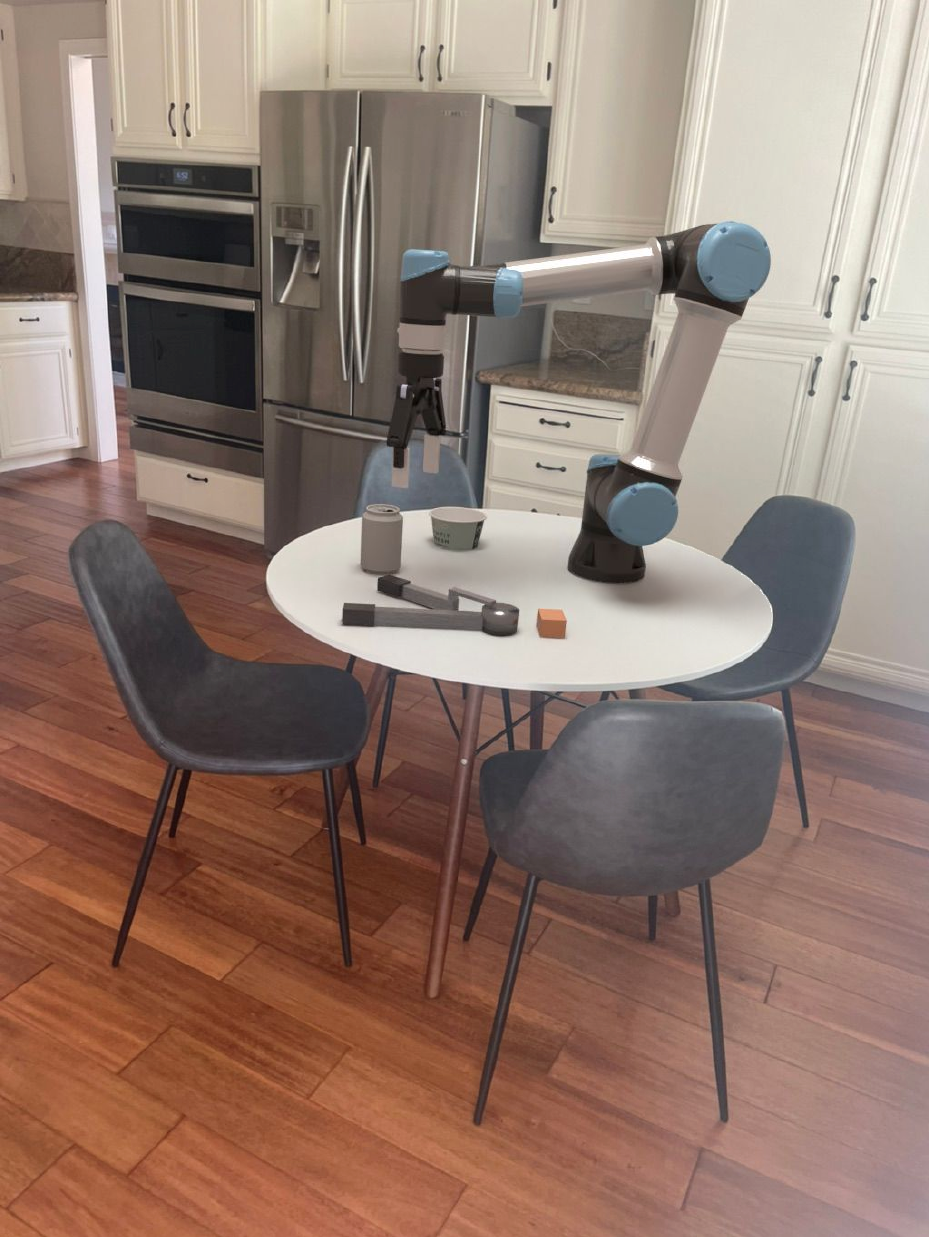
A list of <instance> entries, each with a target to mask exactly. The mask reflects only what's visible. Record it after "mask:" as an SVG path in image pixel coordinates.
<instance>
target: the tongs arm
mask: <svg viewBox="0 0 929 1237" xmlns="http://www.w3.org/2000/svg"><path fill="white" fill-rule="evenodd" d="M376 583H377V589H376V591H377V592H379V593H382V594H385V595H388V596H391V597H395V598H397V599H400V598H401V599H404V600H406V601H410V602H413V603H416V604H418V605H421V606H425V607H428V608H431V609H435V610H455V611H460V597H461V598H465V599H467V600H470V601H473V602H476V603H480V604H483V605H485V604H486V605H489V606H492V605H494V604H496V603H497V599H494V598H490V597H486V596H484V595H481V594H477V593H475V592H471V591H469V590H465V589H461V588H458V587H456V586H455V587H451V588H449V589H448V594H445V593H441V592H438V591H435V590H433V589H429V588H426V587H423V586H420V585H416V584H414V583H412V581H411V580H408V579H405V578H402V577H399V576H396V575H392V574H384V575H382V576H379V577H377V582H376Z"/></svg>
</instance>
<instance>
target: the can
mask: <svg viewBox="0 0 929 1237" xmlns="http://www.w3.org/2000/svg"><path fill="white" fill-rule="evenodd" d="M365 509H366V511H365V512H363V513H362V516H361V540H360V541H361V542H360V563H359V564H360V566H361V568H363V570H364V571H365V572H367V573H370V574H374V575H382V576H385V575H389V574H390V575H392V574H394V573H395V572H396V571H398V570H399V569H400V568H401V567H402V566H401V565H402V564H401V563H402V546H403V544H402V543H403V527H404V526H403V525H404V517H403V515H402V514H401V513H400V511H401V508H400V507H398V506H396V505H391V504H384V503H379V504H377V503H375V504H369V505H367V506H366V507H365Z"/></svg>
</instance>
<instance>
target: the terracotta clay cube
mask: <svg viewBox="0 0 929 1237" xmlns="http://www.w3.org/2000/svg"><path fill="white" fill-rule="evenodd" d="M567 622H568V620H567V618H566V616H565V613H564V611H563V609H556V608H555V609H554V608H553V609H552V608H537V615H536V623H535V624H536V625H535V626H536V629H537V632H538V636H539V638H550V639H551V638H556V639H566V632H567Z"/></svg>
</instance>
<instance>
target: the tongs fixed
mask: <svg viewBox="0 0 929 1237" xmlns="http://www.w3.org/2000/svg"><path fill="white" fill-rule="evenodd" d="M519 616H520V609H519V608H518V607H517V606H515V605H514V604H510V603H506V602H496V604H494V605H492V606H489V605H486V604H483V605H482V607H481V611H475V610H474V611H473V610H471V611H470V610H459V611H455V610H437V609H434V608H431V609H429V608H410V607H408V608H407V607H394V606H393V607H391V606H390V607H389V606H376V604H374V603H359V602H357V603H356V602H343V606H342V616H341V618H342V619H341V626H350V627H351V626H352V627H367V628H369V627H370V628H371V627H395V628H415V629H416V628H417V629H419V628H420V629H437V630H438V629H439V630H458V631H459V630H460V631H475V632H476V631H477V632H478V631H479V632H480V631H482V633H484V634H487V635H490V636H494V637H510V636H514V635H516V634H517V633H518V630H519V629H518V628H519V627H518V626H519V618H520V617H519Z"/></svg>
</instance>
